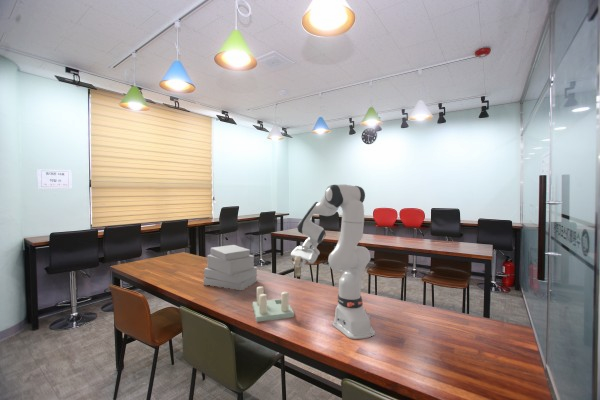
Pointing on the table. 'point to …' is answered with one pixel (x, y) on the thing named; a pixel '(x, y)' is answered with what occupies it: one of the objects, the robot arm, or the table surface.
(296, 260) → the loose leg
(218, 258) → the book stack
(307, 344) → the table surface
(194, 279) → the table surface
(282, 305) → the stool seat
